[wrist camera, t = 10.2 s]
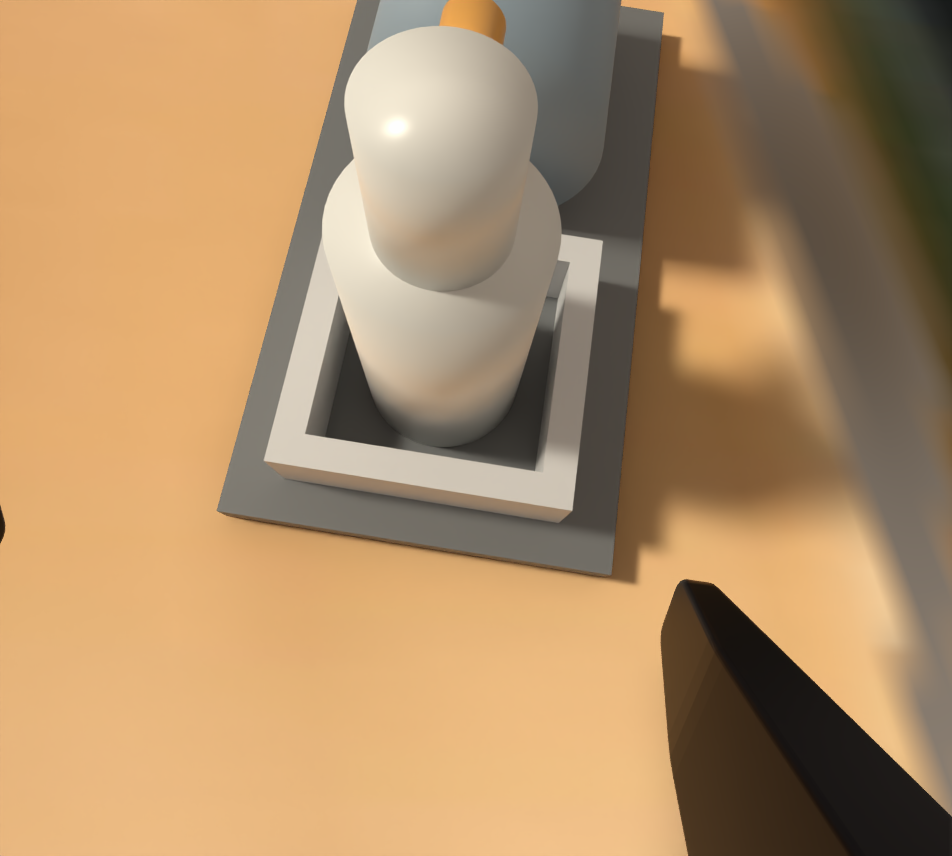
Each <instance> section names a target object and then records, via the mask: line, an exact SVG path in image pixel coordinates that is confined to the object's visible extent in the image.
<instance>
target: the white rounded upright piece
mask: <svg viewBox="0 0 952 856" xmlns="http://www.w3.org/2000/svg"><path fill="white" fill-rule="evenodd" d="M505 33H506V20H505V16H504V14H503V12H502V10H501V9H500V8H499V6H498V5H497V4H496V3H495V2H494V1H492V0H449V1H448V2H447V3H446V4H445V6H444V8H443V11H442V15H441V19H440V24H439V26H428V27H419V28H414V29H410V30H406V31H403V32H400V33H397V34H395V35H393V36H391V37H388V38H386V39H385V40H383V41H381V42H380V43H378V44H377V45H375V46H374V47H373V48H372V49H370V50H369V51H368V52H367V53H366V54H365V55H364V56H363V57H362V58H361V59H360V61H359V62H358V63H357V65H356V66H355V68H354V69H353V71H352V73H351V75H350V77H349V80H348V83H347V86H346V91H345V98H344V108H345V115H346V120H347V125H348V130H349V135H350V140H351V145H352V150H353V156H354V159H353V160H352V161H351V162H350V163H349V164H348V166H347V167H346V168H345V169H344V170H343V171H342V173H341V174H340V176H339V177H338V178H337V180H336V181H335V183H334V185H333V187H332V189H331V191H330V193H329V195H328V198H327V201H326V204H325V208H324V213H323V219H322V238H323V246H324V250H325V254H326V257H327V261H328V264H329V267H330V270H331V273H332V276H333V279H334V282H335V285H336V288H337V291H338V294H339V297H340V300H341V303H342V306H343V310H344V313H345V316H346V319H347V322H348V325H349V328H350V331H351V334H352V337H353V340H354V343H355V346H356V349H357V352H358V355H359V358H360V361H361V364H362V367H363V370H364V373H365V376H366V379H367V382H368V385H369V388H370V391H371V394H372V397H373V400H374V403H375V405H376V407H377V409H378V411H379V412H380V414H381V416H382V417H383V418H384V419H385V421H386V422H387V423H388V424H389V425H390V426H391V427H392V428H393V429H394V430H395V431H397V432H398V433H400V434H401V435H403V436H404V437H406V438H408V439H410V440H412V441H414V442H417V443H420V444H423V445H428V446H433V447H454V446H460V445H464V444H468V443H471V442H473V441H475V440H478V439H480V438H482V437H483V436H485V435H487V434H488V433H489V432H491V431H492V430H493V429H494V428H496V427H497V426H498V425H499V423H500V422H501V421H502V420H503V419H504V417H505V416H506V415H507V413H508V412H509V410H510V408H511V406H512V404H513V401H514V398H515V395H516V392H517V389H518V386H519V382H520V379H521V376H522V373H523V370H524V366H525V363H526V360H527V357H528V353H529V350H530V347H531V344H532V340H533V337H534V334H535V331H536V327H537V324H538V321H539V318H540V315H541V311H542V308H543V305H544V302H545V298H546V295H547V292H548V289H549V285H550V282H551V279H552V276H553V272H554V269H555V266H556V263H557V260H558V256H559V251H560V246H561V233H562V229H561V218H560V214H559V209H558V205H557V202H556V200H555V197H554V195H553V192H552V190H551V189H550V187H549V185H548V183H547V182H546V180H545V179H544V177H543V176H542V175H541V173H540V172H539V171H538V169H537V168H536V167H535V166H534V165H533V164H532V163H531V162H530V161H529V160H530V154H531V149H532V143H533V138H534V132H535V127H536V121H537V114H538V100H537V93H536V89H535V86H534V83H533V81H532V78H531V76H530V75H529V73H528V71H527V69H526V68H525V66H524V65H523V64H522V63H521V61H520V60H519V59H518V58H517V57H516V56H515V55H514V54H513V53H512V52H511V51H510V50H508V49H507V48H506V47H504V46H503V44H504V38H505Z"/></svg>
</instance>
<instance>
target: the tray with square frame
mask: <svg viewBox="0 0 952 856" xmlns="http://www.w3.org/2000/svg"><path fill="white" fill-rule="evenodd" d="M448 1H449V0H357V3H356V7H355V11H354V14H353V18H352V21H351V25H350V29H349V32H348V36H347V40H346V43H345V47H344V50H343V54H342V58H341V61H340V65H339V69H338V72H337V76H336V80H335V83H334V87H333V90H332V94H331V98H330V101H329V105H328V109H327V112H326V116H325V119H324V123H323V127H322V130H321V134H320V138H319V141H318V145H317V149H316V152H315V156H314V159H313V163H312V167H311V170H310V174H309V178H308V181H307V185H306V188H305V192H304V196H303V199H302V203H301V207H300V210H299V214H298V217H297V221H296V225H295V228H294V232H293V236H292V239H291V243H290V247H289V250H288V254H287V257H286V261H285V265H284V268H283V272H282V276H281V279H280V283H279V286H278V290H277V294H276V297H275V301H274V305H273V308H272V312H271V316H270V319H269V323H268V326H267V330H266V334H265V337H264V341H263V345H262V348H261V352H260V355H259V359H258V363H257V366H256V370H255V374H254V377H253V381H252V384H251V388H250V392H249V395H248V399H247V403H246V406H245V410H244V414H243V417H242V421H241V424H240V428H239V432H238V435H237V439H236V443H235V446H234V450H233V453H232V457H231V461H230V464H229V468H228V472H227V475H226V479H225V483H224V486H223V490H222V493H221V497H220V501H219V504H218V508H217V511H218V512H220V513H222V514H224V515H226V516H232V517H238V518H244V519H250V520H256V521H263V522H269V523H275V524H281V525H287V526H293V527H299V528H306V529H312V530H318V531H324V532H330V533H336V534H342V535H349V536H355V537H361V538H367V539H373V540H379V541H385V542H391V543H398V544H404V545H410V546H416V547H422V548H428V549H434V550H441V551H447V552H453V553H459V554H465V555H471V556H477V557H484V558H490V559H496V560H502V561H508V562H514V563H520V564H527V565H533V566H539V567H545V568H551V569H557V570H563V571H570V572H576V573H582V574H588V575H594V576H600V577H607V576H610V575H611V574H612V563H613V553H614V542H615V531H616V521H617V510H618V499H619V488H620V478H621V467H622V456H623V445H624V435H625V424H626V413H627V403H628V392H629V381H630V370H631V360H632V349H633V338H634V327H635V317H636V306H637V295H638V284H639V274H640V263H641V252H642V242H643V231H644V220H645V209H646V199H647V188H648V177H649V166H650V156H651V145H652V134H653V124H654V113H655V102H656V91H657V81H658V70H659V59H660V48H661V38H662V27H663V16H664V13H662V12H656V11H649V10H643V9H637V8H630V7H624V6H621V0H492V1H494V2H495V3H496V4H497V5H498V6H499V8H500V9H501V10H502V12H503V14H504V16H505V20H506V33H505V38H504V44H503V46H504V47H506V48H507V49H508V50H510V51H511V52H512V53H513V54H514V55H515V56H516V57H517V58H518V59H519V60H520V61H521V63H522V64H523V65H524V66H525V68H526V69H527V71H528V73H529V75H530V76H531V78H532V81H533V83H534V86H535V89H536V93H537V100H538V114H537V121H536V127H535V132H534V138H533V143H532V149H531V154H530V160H529V161H530V162H531V163H532V164H533V165H534V166H535V167H536V168H537V169H538V171H539V172H540V173H541V175H542V176H543V177H544V179H545V180H546V182H547V183H548V185H549V187H550V189H551V190H552V192H553V195H554V197H555V200H556V202H557V205H558V209H559V214H560V218H561V229H562V233H561V246H560V251H559V256H558V260H557V263H556V266H555V269H554V272H553V276H552V279H551V282H550V285H549V289H548V292H547V295H546V298H545V302H544V305H543V308H542V311H541V315H540V318H539V321H538V324H537V327H536V331H535V334H534V337H533V340H532V344H531V347H530V350H529V353H528V357H527V360H526V363H525V366H524V370H523V373H522V376H521V379H520V382H519V386H518V389H517V392H516V395H515V398H514V401H513V404H512V406H511V408H510V410H509V412H508V413H507V415H506V416H505V417H504V419H503V420H502V421H501V422H500V423H499V425H498V426H497V427H496V428H494V429H493V430H492V431H491V432H489V433H488V434H487V435H485V436H483V437H482V438H480V439H478V440H475V441H473V442H471V443H468V444H464V445H460V446H454V447H433V446H428V445H423V444H420V443H417V442H414V441H412V440H410V439H408V438H406V437H404V436H403V435H401V434H400V433H398V432H397V431H395V430H394V429H393V428H392V427H391V426H390V425H389V424H388V423H387V422H386V421H385V419H384V418H383V417H382V416H381V414H380V412H379V411H378V409H377V407H376V405H375V403H374V400H373V397H372V394H371V391H370V388H369V385H368V382H367V379H366V376H365V373H364V370H363V367H362V364H361V361H360V358H359V355H358V352H357V349H356V346H355V343H354V340H353V337H352V334H351V331H350V328H349V325H348V322H347V319H346V316H345V313H344V310H343V306H342V303H341V300H340V297H339V294H338V291H337V288H336V285H335V282H334V279H333V276H332V273H331V270H330V267H329V264H328V261H327V257H326V254H325V250H324V246H323V238H322V219H323V213H324V208H325V204H326V201H327V198H328V195H329V193H330V191H331V189H332V187H333V185H334V183H335V181H336V180H337V178H338V177H339V176H340V174H341V173H342V171H343V170H344V169H345V168H346V167H347V166H348V164H349V163H350V162H351V161H352V160H353V159H354V156H353V150H352V145H351V140H350V135H349V130H348V125H347V120H346V115H345V108H344V98H345V91H346V86H347V83H348V80H349V77H350V75H351V73H352V71H353V69H354V68H355V66H356V65H357V63H358V62H359V61H360V59H361V58H362V57H363V56H364V55H365V54H366V53H367V52H368V51H369V50H370V49H372V48H373V47H374V46H375V45H377V44H378V43H380V42H381V41H383V40H385V39H386V38H388V37H391V36H393V35H395V34H397V33H400V32H403V31H406V30H410V29H414V28H419V27H428V26H439V24H440V19H441V15H442V11H443V8H444V6H445V4H446V3H447V2H448Z"/></svg>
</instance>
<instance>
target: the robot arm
mask: <svg viewBox="0 0 952 856" xmlns="http://www.w3.org/2000/svg"><path fill="white" fill-rule="evenodd" d="M4 533H5V521H4V517H3V513H2V510H1V506H0V543H1V541H2V539H3V537H4ZM661 654H662V667H663V680H664V693H665V706H666V719H667V731H668V743H669V753H670V761H671V767H672V773H673V779H674V784H675V789H676V794H677V800H678V805H679V810H680V815H681V820H682V826H683V831H684V836H685V841H686V847H687V852H688V856H952V817H951V815H949V814H948V813H947V812H946V811H945V810H944V809H943V808H942V807H941V806H940V805H939V804H938V803H937V802H936V801H935V800H934V799H933V798H932V797H931V796H930V795H929V794H928V793H927V792H926V791H925V790H924V789H923V788H922V787H921V786H920V785H919V784H918V783H917V782H916V781H915V780H914V779H913V778H912V777H911V776H910V775H909V774H908V773H907V772H906V771H905V770H904V769H903V768H902V767H901V766H900V765H898V764H897V763H896V762H895V761H894V760H893V759H892V758H891V757H890V756H889V755H888V754H887V753H886V752H885V751H884V750H883V749H882V748H881V747H880V746H879V745H878V744H877V743H876V742H875V741H874V740H873V739H872V738H871V737H870V736H869V735H868V734H867V733H866V732H865V731H864V730H863V729H862V728H861V727H860V726H859V725H858V724H857V723H856V722H855V721H854V720H853V719H852V718H851V717H850V716H849V715H847V714H846V713H845V712H844V711H843V710H842V709H841V708H840V707H839V706H838V705H837V704H836V703H835V702H834V701H833V700H832V699H831V698H830V697H829V696H828V695H827V694H826V693H825V692H824V691H823V690H822V689H821V688H820V687H819V686H818V685H817V684H816V683H815V682H814V681H813V680H812V679H811V678H810V677H809V676H808V675H807V674H806V673H805V672H804V671H803V670H802V669H801V668H800V667H799V666H797V665H796V664H795V663H794V662H793V661H792V660H791V659H790V658H789V657H788V656H787V655H786V654H785V653H784V652H783V651H782V650H781V649H780V648H779V647H778V646H777V645H776V644H775V643H774V642H773V641H772V640H771V639H770V638H769V637H768V636H767V635H766V634H765V633H764V632H763V631H762V630H761V629H760V628H759V627H758V626H757V625H756V624H755V623H754V622H753V621H752V620H751V619H750V618H749V617H748V616H746V615H745V614H744V613H743V612H742V611H741V610H740V609H739V608H738V607H737V606H736V605H735V604H734V603H733V602H732V601H731V600H730V599H729V598H728V597H727V596H726V595H725V594H724V593H723V592H722V591H721V590H720V589H719V588H718V587H717V586H715V585H714V584H712V583H708V582H701V581H695V580H688V579H685V580H682V581H680V582H679V584H678V585H677V587H676V589H675V592H674V595H673V598H672V600H671V603H670V606H669V609H668V612H667V614H666V617H665V620H664V623H663V626H662V631H661Z"/></svg>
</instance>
